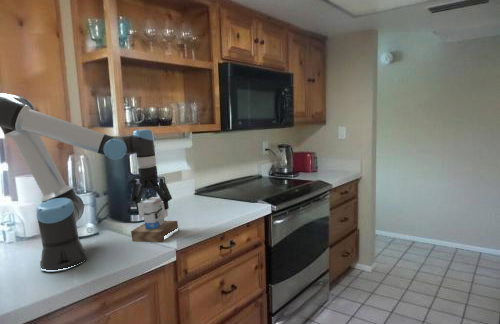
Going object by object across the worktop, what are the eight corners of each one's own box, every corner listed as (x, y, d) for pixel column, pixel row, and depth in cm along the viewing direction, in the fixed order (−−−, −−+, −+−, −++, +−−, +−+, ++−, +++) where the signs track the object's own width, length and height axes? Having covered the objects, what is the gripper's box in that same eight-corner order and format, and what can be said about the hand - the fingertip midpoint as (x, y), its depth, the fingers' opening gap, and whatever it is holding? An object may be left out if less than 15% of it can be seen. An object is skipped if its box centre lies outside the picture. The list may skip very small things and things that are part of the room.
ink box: (155, 229, 141) (152, 202, 139) (145, 229, 142) (141, 202, 141) (165, 222, 149) (162, 196, 147) (155, 222, 151) (152, 196, 149)
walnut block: (132, 242, 142) (130, 231, 141) (151, 230, 155) (150, 220, 154) (161, 243, 138) (160, 232, 137) (178, 231, 151) (177, 220, 150)
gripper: (176, 163, 143) (182, 214, 146) (128, 165, 148) (134, 214, 152) (168, 166, 136) (174, 219, 139) (117, 169, 141) (124, 219, 144)
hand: (153, 216), depth 145 cm, fingers open, 10 cm apart
